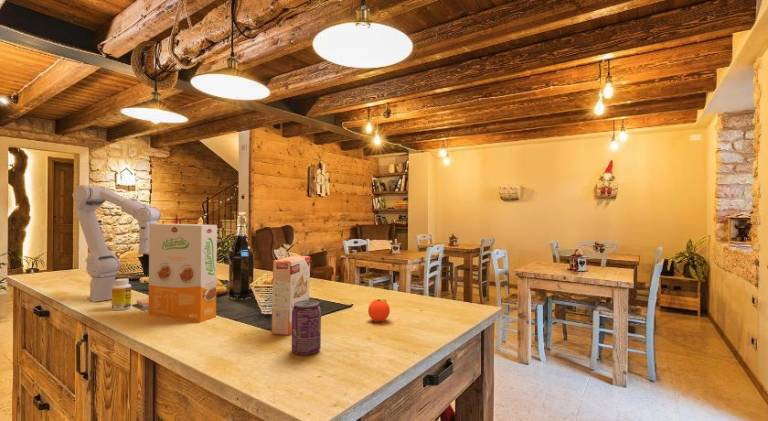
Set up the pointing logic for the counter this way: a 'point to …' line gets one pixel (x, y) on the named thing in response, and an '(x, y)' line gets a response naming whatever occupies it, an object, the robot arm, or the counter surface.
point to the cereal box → (183, 271)
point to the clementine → (379, 310)
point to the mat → (141, 307)
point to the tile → (143, 303)
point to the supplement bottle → (121, 294)
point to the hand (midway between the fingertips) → (147, 274)
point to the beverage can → (306, 327)
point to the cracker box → (288, 290)
